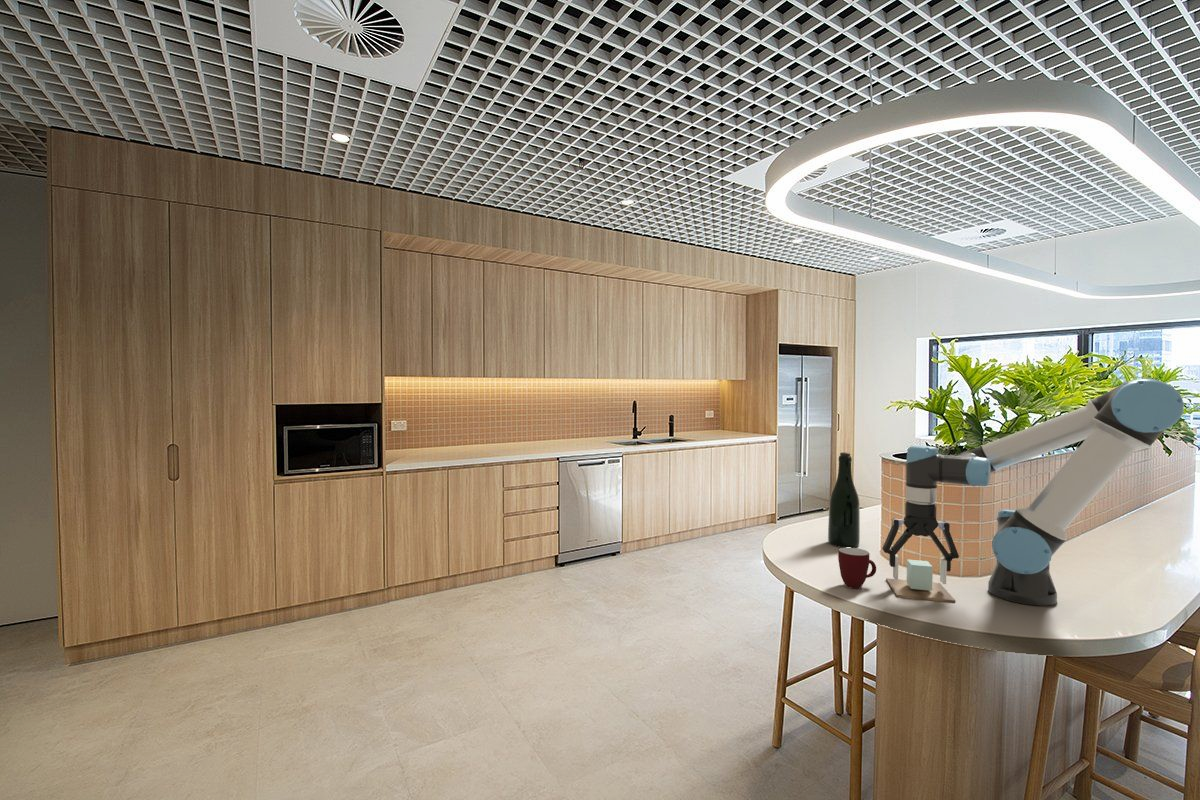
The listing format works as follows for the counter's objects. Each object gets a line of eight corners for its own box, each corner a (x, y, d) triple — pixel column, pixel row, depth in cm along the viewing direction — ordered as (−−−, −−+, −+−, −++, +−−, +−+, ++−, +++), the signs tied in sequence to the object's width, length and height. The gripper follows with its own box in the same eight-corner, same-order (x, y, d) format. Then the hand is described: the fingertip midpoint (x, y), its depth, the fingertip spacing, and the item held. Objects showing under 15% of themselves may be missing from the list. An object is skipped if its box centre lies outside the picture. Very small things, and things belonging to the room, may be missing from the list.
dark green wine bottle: (822, 540, 213) (824, 451, 212) (849, 540, 214) (851, 450, 213) (837, 548, 202) (838, 454, 201) (865, 548, 203) (867, 454, 203)
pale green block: (927, 584, 163) (927, 561, 162) (932, 590, 158) (932, 566, 157) (906, 582, 164) (907, 559, 164) (910, 588, 159) (911, 564, 159)
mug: (863, 580, 169) (864, 546, 169) (883, 589, 162) (883, 554, 161) (831, 582, 167) (832, 548, 167) (849, 592, 159) (850, 556, 159)
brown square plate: (939, 585, 166) (940, 560, 166) (955, 602, 152) (956, 575, 152) (886, 580, 170) (886, 555, 169) (896, 596, 156) (897, 570, 156)
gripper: (964, 501, 161) (962, 580, 161) (871, 496, 167) (870, 572, 168) (974, 507, 153) (972, 589, 154) (876, 501, 160) (875, 580, 160)
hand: (919, 580), depth 161 cm, fingers open, 11 cm apart
